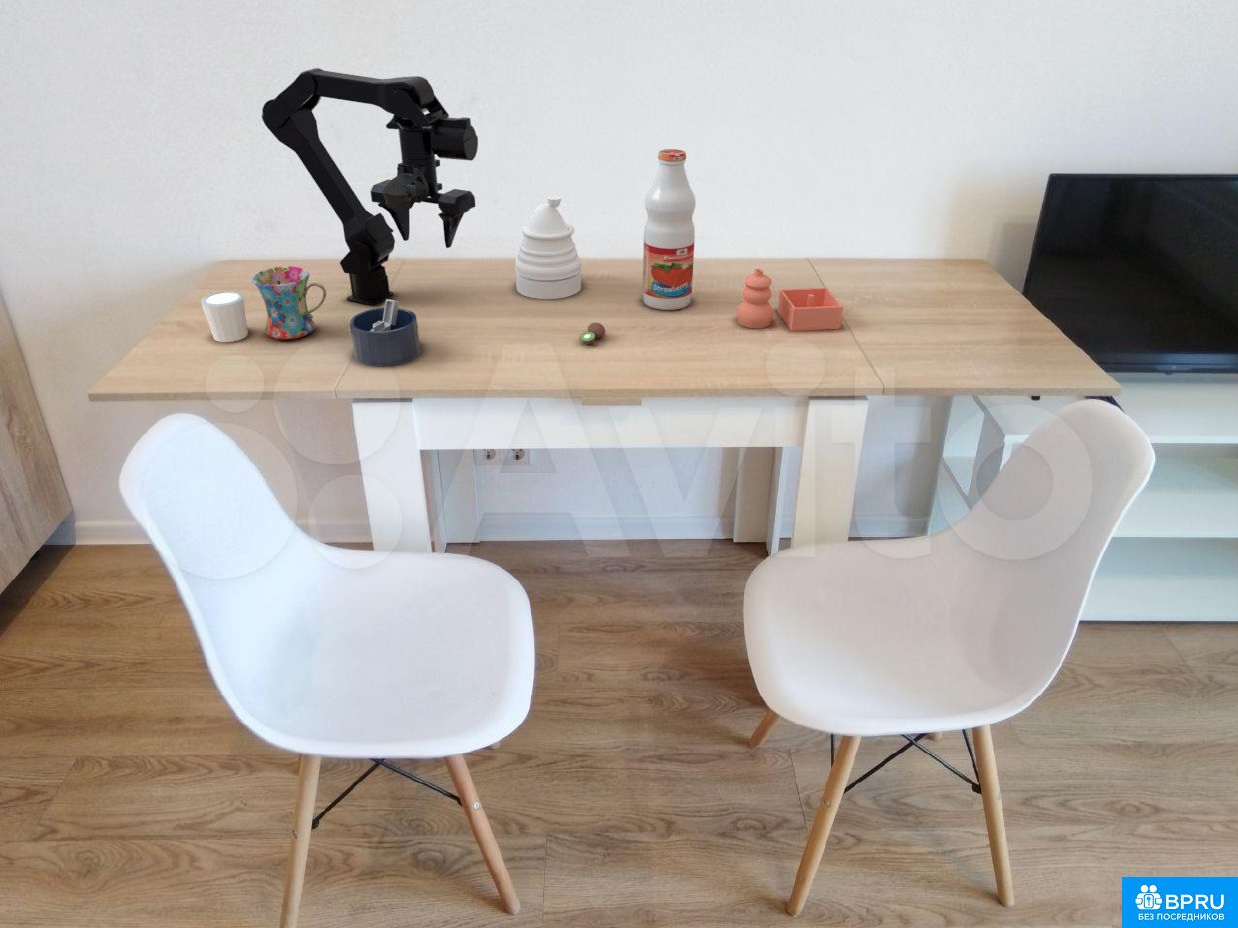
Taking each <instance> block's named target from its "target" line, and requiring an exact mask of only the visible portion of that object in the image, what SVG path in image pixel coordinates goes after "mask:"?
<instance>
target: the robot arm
mask: <svg viewBox="0 0 1238 928" xmlns="http://www.w3.org/2000/svg"><path fill="white" fill-rule="evenodd" d="M322 98H328V99H335V100H342V101H348V102H353V103H354V102H355V103H361V104H368V105H373V106H375V107H378V108H380V109H382V110H383V111H385V112H386V113H388V114H391V115H393V116H392V118H391V119H390V120H389V121H388V122H387V123H386V124H385V127H386V129H387V130H398V139H399V147H400V154H401V156H400V157H401V162H400V163H397V167H396V171H397V173H396V176H395V177H393V178H391V179H386V180H382V181H381V182H378V183H375V184H373V185H372V187H371V190H370V200H371V202H372V203H376V204H377V206H378V207H379V208H382V209H384V210H385V211H386V212H388V213H389V215H390V217H391V218H392V220H393V222H394V224H395V225H396V227H397V230H398V233H399V234H400V236H401V238H402V240H403V241H404V242H407V241H409V240H410V230H411V229H410V227H411V225H410V210H411V209H412V208H413V207H414V205H415V204H416V203H417V204H420V203H427V204H433V205H437V206H438V209H439V210H440V212H439V213H437V215H438V216H439V218H440V219H441V220H442V228H443V237H444V239H443V240H444V244H445V248H446V249H449V248H451V247H452V245H453V242H454V239H455V238H456V237H455V236H456V233H457V231H458V228H459V225H460V223H461V220H462V219H463V217H464V215H465V213H468V212H470V210H472V209H474V208H476V197H475V194H474V193H473V192H472V191H471V190H466V189H459V188H453V189H451V190H449V191H446V192H444V193H442V192H439V191H441V190H443V183H441V182H438V174H437V173H438V172H437V168H439V167H440V166H441V160H440V159H446V160H457V161H469V162H470V161H473V160H475V158H476V156H477V153H478V147H479V136H478V135H477V132H476V129H475V128H474V126H473V125H472V122H471V117H464V116H463V117H450V115H449V113H448V111H447V110H446V108H445V107H444V106H443V104H442V103H441V102H440V99H438V97H437V96H436V95H435V91H434V89H433V86H432V85H431V84H430V82H429V80H428V79H427V78H425V77H423V76H418V75H416V76H415V75H414V76H399V77H392V78H375V77H369V76H363V75H356V74H355V75H354V74H350V73H344V72H336V71H329V70H323V69H322V68H319V67H315V68H311V69H307V70H304V71H302V72H300V73H299V74H298V76H297V77H296V78H295V79H294V80H293V82H292V83H290V84H289V85H288V86H287V87H286V88H285V89H284V90H282V91H281V92H279V94H277V96H275V98H272V99H269V100H267V101H266V102H265V103H264V104H263V106H262V110H261V111H262V113H261V119H262V121H263V123H264V125H265V127H266V128H267V129H268V130H269V132H270V133H271V134H272V135H273V137H275V138H276V140H277V141H278V142H280V143H281V144H283V146H286V147H287V148H288V149H290V150H291V151H293V153H295V154H296V156H297V157H298V158H299V160H300V162H301V163H302V164H303V166H304V167H305V169H306V171H307V172H308V174H309V175H310V176H311V178H312V180H313V182H314V183H315V184H316V186H317V187H318V189H319V190H320V192H321V193H322V195H323V196H324V198H325V199H326V200H327V202H328V204H329V206H330V207H331V208H332V210H333V212H334V213H335V214H336V216H337V217H338V219H339V220H340V222H341V224H342V229H343V237H344V241H345V243H346V246H347V248H348V250H349V251H348V253H346V255H345V256H344V257H343V258H342V259H341V260H340V261H339V265H340V268H341V269H342V271H343V273H344V274H348V277H349V282H350V283H349V285H350V290H351V295H349V296H347V297H346V300H347V301H349V302H354V303H357V304H358V303H359V304H363V305H369V306H376V305H378V304H380V303H382V302H383V301H386V299H389V298H391V297H392V296H394V294H395V293H394V291H390V284H389V283H390V282H389V276H388V275H387V274H386V273H387V272H386V266H384V265H383V264H384V263H387V262H388V261H389V257H390V255H391V253H393V251H394V249H395V244H396V240H395V236H394V234H393V233H394V229H392V228H391V227H390V225H389V224H388V223H387V220H386V219H385V216H384V215H383V214H382V213H381V212H378V213H376V214H375V215H374V214H373V213H371V212H369V210H367V209H366V208H365V207H364V205H363V204H362V202H361V200H360V199H359V198H358V196H357V194H356V193H355V192H354V189H353V188H352V187H351V185H350V183H349V182H348V181H347V179H346V178H345V176H344V175H343V173H342V172H341V170H340V168H339V166H338V165H337V164H336V161H334V159H333V158H332V156H331V155H330V153H329V152H328V150H327V148H326V147H325V145H324V143H323V142H322V141H321V138H320V136H319V129H318V122H317V119H316V117H315V115H314V112H313V111H314V109H315V108H317V106H318V105H319V103H320V101H321V99H322ZM425 112H428V113H425ZM436 156H437V157H438V158H439V159H438V158H437V159H436Z"/></svg>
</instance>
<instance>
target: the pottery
mask: <svg viewBox="0 0 1238 928" xmlns="http://www.w3.org/2000/svg"><path fill="white" fill-rule="evenodd" d="M743 283H744V285H745V286H744V287H743V288H742V291H741V295H742V298H743V301H741V303H740V304H739V305H738V307H737V309H736V317H737V318H736V319H737V322H738V324H739V325H741V326H742V327H745V328H749V329H763V328H767V327H769V326H770V325H771V323H772V320H773V317H774V310H773V306H772V305H771V303H770V302H769V301H770V299H771V298H772V290H771V288H770V286H771V285H772V279H771V277H769V276H768V275H766V274H764V269H762V268H755V269H754V270H753V273H751V274H749V275H746V276H745V277H744V280H743ZM777 303H778V304H777V312H778V314H779V316H781V318H782V319H783V321H784V322H785V324H786V325H787V327H788V328H789V329H790V331H791V332H795V331H798V332H799V331H820V330H822V331H823V330H840V329H841V326H842V319H843V312H844V306H843V305H842V304H841V302H840V301H839V300H838V299H837V298H836V297H835V295H834V293H832V292H831V291H830V289H829V288H828V287H809V288H787V289H786V288H784V289H781V288H780V289H779V293H778V302H777Z"/></svg>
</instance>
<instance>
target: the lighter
mask: <svg viewBox="0 0 1238 928" xmlns="http://www.w3.org/2000/svg"><path fill="white" fill-rule="evenodd" d="M399 305H400V302H399V300H394V299H389V298H387V299H385V303H384V308H385V309H384V315H383V321H378V322H376V323H374V324H373V329H372V330H370V331H376V332H379V331H390V330H391V328H390V325H393V326H395V325H396V319H397V312H398V308H399Z"/></svg>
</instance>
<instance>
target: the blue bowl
mask: <svg viewBox="0 0 1238 928" xmlns="http://www.w3.org/2000/svg"><path fill="white" fill-rule="evenodd" d="M384 309H385V307H377V308H371V309H368V310H364V311H361V312H359V313H357V314H354V315H353V316H352V318H350V320H349V329H350V335H351V343H352V348H353V354H354V357H355V359H356V361H357V362H359V363H361V364H364V365H366V366H371V367H392V366H399V365H402V364H406V363H408V362H410V361H412V360H414V359H416V358H417V357H418V356H419V354H420V352H421V348H420V346H421V344H420V336H419V327H418V319H417V315H416V314H415V313H414V312H413V311H411V310H409V309H407V308H401V307H398V312H397V319H396V325H395V326H393V325H390V328H391V330H390V331H379V332H376V331H370V330H372V329H373V324H374V323H376V322H378V321H383V315H384Z"/></svg>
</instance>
